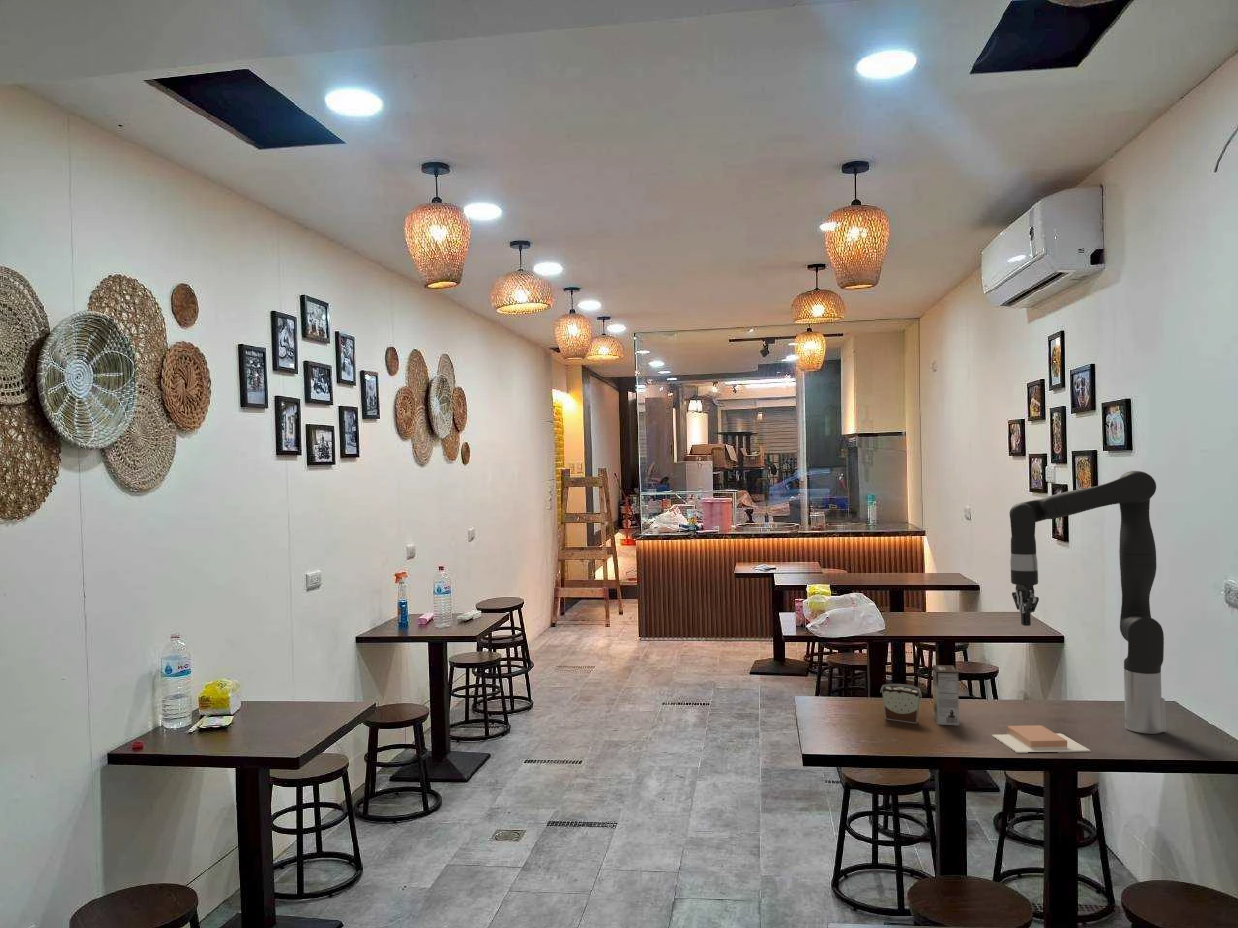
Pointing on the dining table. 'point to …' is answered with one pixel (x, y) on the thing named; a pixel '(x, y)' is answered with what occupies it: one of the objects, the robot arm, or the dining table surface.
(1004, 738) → the mat
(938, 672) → the coffee box
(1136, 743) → the dining table surface
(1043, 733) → the tan flat block
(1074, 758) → the dining table surface
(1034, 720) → the dining table surface
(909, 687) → the food container
